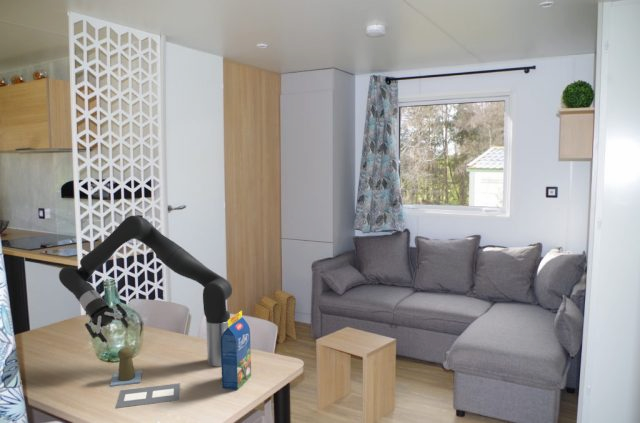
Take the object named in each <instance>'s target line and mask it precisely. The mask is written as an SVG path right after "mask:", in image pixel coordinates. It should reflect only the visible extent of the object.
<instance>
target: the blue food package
mask: <svg viewBox="0 0 640 423" xmlns="http://www.w3.org/2000/svg"><path fill="white" fill-rule="evenodd" d="M251 349H252V348H251V328H250V325H249V324H248V322H247V321H246V319H245V318H244V317H243V309H242V310H239V312H237V313H236V314H234V315H233V316H232V317H230V319H229V320H228V328H227V329H226V330H225V332H224V333H223V334H222V337H221V366H220V367H221V388H222V389H226V390H236V391H237V390H239V389H240V388H241V387H243V385H244V384H245V383H246V382H247V381H248V380H249V379H250V377H251V376H252V357H251V356H252V352H251V351H252V350H251Z"/></svg>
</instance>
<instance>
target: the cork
mask: <svg viewBox="0 0 640 423" xmlns="http://www.w3.org/2000/svg"><path fill="white" fill-rule="evenodd" d="M133 355H134V350H133V349H132V347H123V348H120V349H119V350H118V351H117V357H118V358H119V361H118V362H119V363H118V372H117V373H118V380H119V381H128V380H132V379H134V378H135V371H136V370H135V367H134V362H133Z"/></svg>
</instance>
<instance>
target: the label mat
mask: <svg viewBox="0 0 640 423" xmlns="http://www.w3.org/2000/svg"><path fill="white" fill-rule="evenodd" d="M180 389H181V383H179V382H178V383H172V384H171V383H169V384H163V385H154V386H153V385H152V386H144V387H138V388H130V389H121V390H120V392H119V395H118V397H117V398H118V399H117V402H116V406H115V409H121V408H128V407H136V406H143V405H144V406H145V405H151V404H158V403H166V402H167V403H168V402H173V401H174V402H175V401H180V399H181V398H180V392H181V391H180Z"/></svg>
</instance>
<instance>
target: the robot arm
mask: <svg viewBox="0 0 640 423" xmlns="http://www.w3.org/2000/svg"><path fill="white" fill-rule="evenodd" d="M131 240H137V241H139V242H140V243H142V244H144V245H145V246H146V247H148V248H149V249H151V251H152V252H154V254H155V255H156V257H157V258H159V260H160V261H161V263H163V264H164V265H165V266H166V267H167V268H168V269H170V270H171V271H173V272H174V273H176V274H178V275H179V276H182V277H184V278H186V279H190V280H192V281H194V282H196V283H198V284H199V285H201V286H202V287H203V290H202V304H203V305H202V306H203V313H204V316H205V322H206V323H205V324H206V327H205V328H206V348H207V349H206V351H207V358H206V359H207V360H206V361H207V364H208V365H209V366H211V367H221V337H222V334H223V333H224V332H225V330H226V329H227V328H228V320H229V319H230V318H231V314H230V312H229V311H228V310H227V303H226V301H227V300H228V299H229V298H230V297H231V296H232V294H233V287H232V285H231V283H230V282H229V280H227V279H226V278H224V277H223V276H221V275H219V274H218V273H216V272H214V271H213V270H212V269H210V268H208V267H207V266H206V265H204V264H203V262H201V261H200V260H198V259H197V258H196V257H195V256H193V255H192V254H190V252H188V251H187V250H185V249H184V248H183V247H181V246H180V245H179V244H178V243H176V242H175V241H173V240H171V239H170V238H168V237H167V236H165V235H164V234H162V232H160V231H159V230H158V229H157V228H156V227H155V226H154V225H153V224H152V223H151V222H150V221H149V220H148V219H146V218H145V217H142V216H139V215H129V216H127V217H125V219H123V221H122V222H121V223H120V224H119V225H117V227H116V228H115V229H114V230H113V231H112V232H111V234H109V235H108V236H107V237H106V238H105V239H104V240H103V241H102V242H100V243H99V244H98V245H97V246H96V247H95V248H93V249H92V250H91V251H89V252H88V253H86V254H85V255H84V256H82V258H81V259H80V261H79V264H80V267H79V268H76V267H73V266H64V267H62V268H61V269H60V270H59V273H58V279H59V281H60V283H61V285H63V286H64V287H65V288H66V289H67V290H68V291H69V292H71V293H72V294H73V295H74V296H75V298H76V300H77V301H78V302H79V304H80V306H81V307H82V309H83V311H84V312H85V313H86V314H87V315H88V316H89V318H90V319H91V322H89V323H88V322H85V324H84V326H85V328H86V329H87V332H88V333H89V335H90V337H91V338H92V339H95V338H97V337H98V338H99V340H100V341H101V342H102V343H107V342H108V340H107V338H106V337H105V336H104V334H103V333H102V331H103V329H104V327H107V325H109V324H111V323H113V321H119V322H121V324H122V325H123V326H124V328H125V329H128V328H129V323H128V321H127V320H126V318H127V317H128V314H127V313H128V312H127V311H126V310H125V309H124V308H123V307H122V306H121V305H120V303H116V304H115V306H114V307H111V306H110V305H109V304H108V303H107V301H105V299H104V298H103V296H102V295H101V294H100V293H99V292H98V291H97V290H96V289H95V288H94V287H93V285H92V284H91V283H90V282H88V280H89V279H90V278H91V277H92V275H94V273H95V271H97V270H98V269H99V268H101V267H102V266H103V265H104V264H105V263H106V262H108V261H109V260H110V259H111V257H112V256H113V255H114V254H115V252H117V250H118V249H119V248H120V247H121V246H123V245H124V244H126V243H128V242H129V241H131ZM115 311H116V312H119V313H121V314H117V313H115ZM93 325H94V326H96V331H95V332H94V331H93V328H94V327H93Z"/></svg>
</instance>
